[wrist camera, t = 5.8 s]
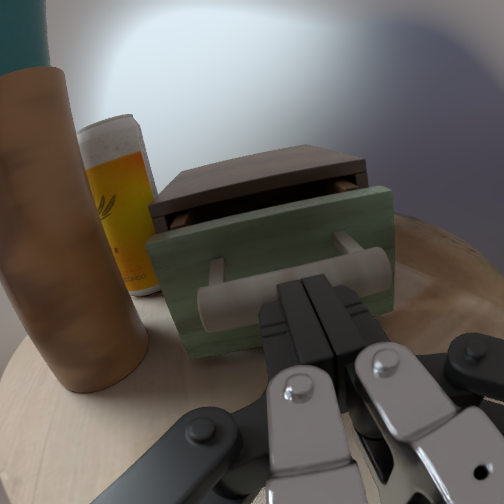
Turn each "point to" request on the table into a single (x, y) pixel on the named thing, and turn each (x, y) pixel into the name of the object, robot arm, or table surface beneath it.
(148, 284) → the beer can
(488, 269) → the table surface
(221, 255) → the drawer
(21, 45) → the cylinder
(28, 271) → the stand
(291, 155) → the cabinet
